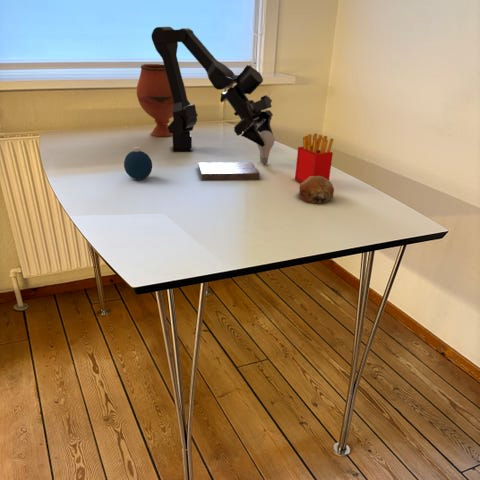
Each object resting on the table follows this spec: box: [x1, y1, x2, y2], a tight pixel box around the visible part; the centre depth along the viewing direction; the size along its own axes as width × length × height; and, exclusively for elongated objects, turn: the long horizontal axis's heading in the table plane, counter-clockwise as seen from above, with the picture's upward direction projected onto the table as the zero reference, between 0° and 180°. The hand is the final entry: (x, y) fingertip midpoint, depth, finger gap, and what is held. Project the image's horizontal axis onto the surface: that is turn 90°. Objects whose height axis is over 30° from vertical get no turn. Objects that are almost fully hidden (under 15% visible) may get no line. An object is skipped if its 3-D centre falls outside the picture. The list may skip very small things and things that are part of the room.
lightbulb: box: [256, 131, 275, 165], centre depth 166 cm, size 6×6×11 cm
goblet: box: [136, 63, 187, 137], centre depth 193 cm, size 19×19×25 cm
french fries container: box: [294, 132, 334, 184], centre depth 150 cm, size 7×9×14 cm
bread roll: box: [298, 176, 335, 205], centre depth 140 cm, size 10×10×8 cm
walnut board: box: [197, 162, 260, 181], centre depth 157 cm, size 18×12×2 cm, turn 99°
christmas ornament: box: [123, 146, 153, 181], centre depth 147 cm, size 8×8×10 cm
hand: (268, 143), depth 165 cm, fingers open, 8 cm apart
